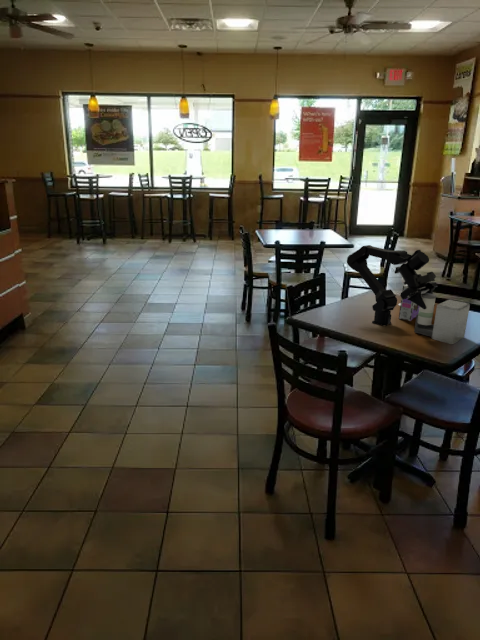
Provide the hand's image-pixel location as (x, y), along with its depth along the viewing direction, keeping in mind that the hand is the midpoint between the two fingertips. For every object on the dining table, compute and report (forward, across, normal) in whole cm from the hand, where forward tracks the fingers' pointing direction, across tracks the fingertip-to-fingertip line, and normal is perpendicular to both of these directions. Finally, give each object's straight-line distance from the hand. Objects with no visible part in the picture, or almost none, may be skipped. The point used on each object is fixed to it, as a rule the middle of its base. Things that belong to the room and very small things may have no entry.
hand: (429, 307), depth 198 cm
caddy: (+13, +8, +6) cm, 17 cm away
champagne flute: (-15, +35, +34) cm, 52 cm away
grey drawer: (+7, +7, +12) cm, 15 cm away
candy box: (-6, +20, +25) cm, 33 cm away
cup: (+4, 0, +6) cm, 7 cm away
